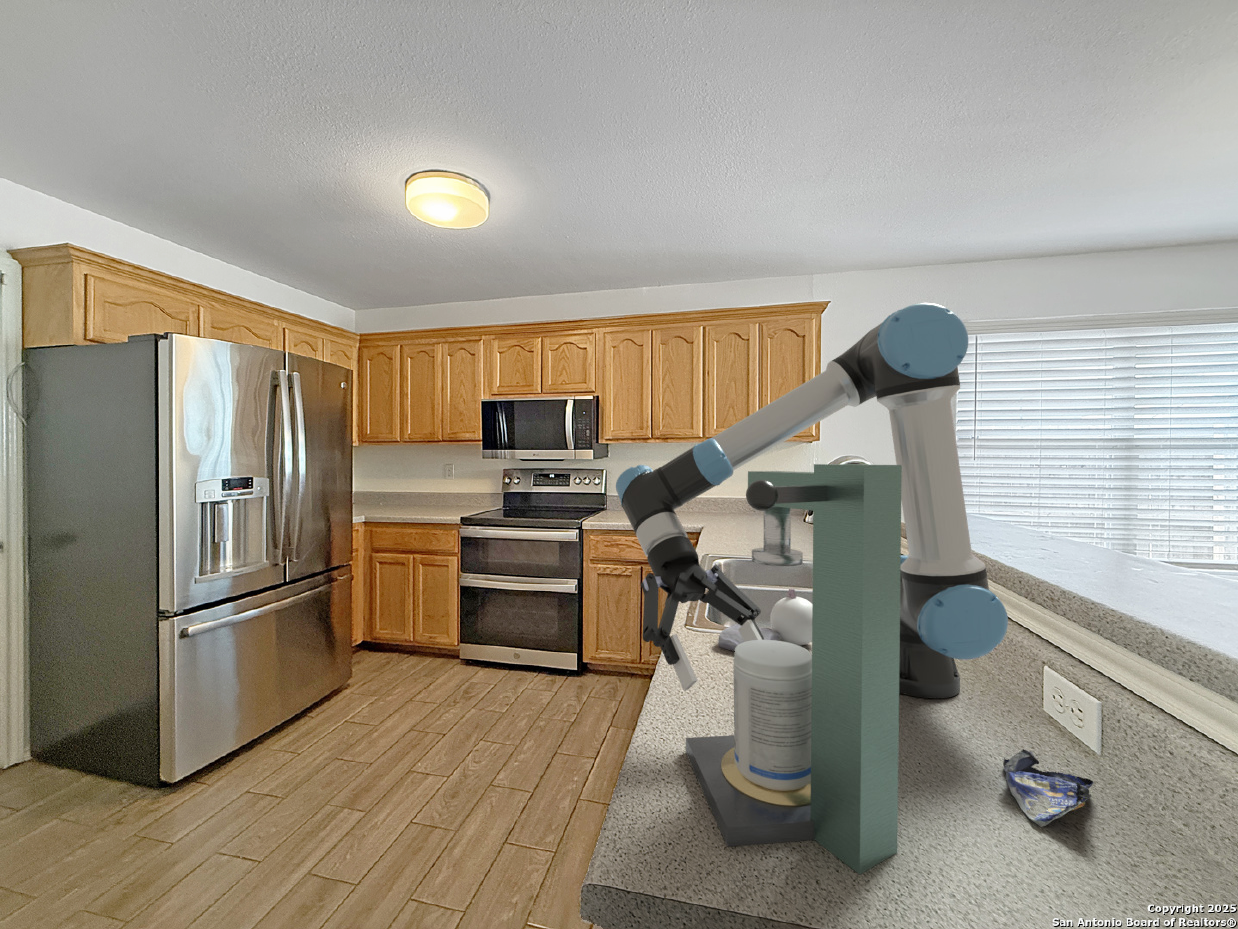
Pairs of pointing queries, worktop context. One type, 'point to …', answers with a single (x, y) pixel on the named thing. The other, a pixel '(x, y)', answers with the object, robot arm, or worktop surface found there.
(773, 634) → the stone block
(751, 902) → the worktop surface
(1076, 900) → the worktop surface
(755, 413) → the robot arm
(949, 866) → the worktop surface
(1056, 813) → the snack package
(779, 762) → the supplement tub
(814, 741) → the arbor press
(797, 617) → the ornament
